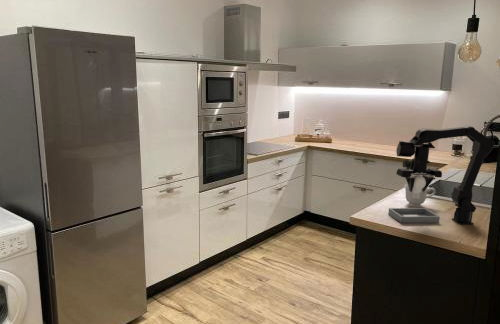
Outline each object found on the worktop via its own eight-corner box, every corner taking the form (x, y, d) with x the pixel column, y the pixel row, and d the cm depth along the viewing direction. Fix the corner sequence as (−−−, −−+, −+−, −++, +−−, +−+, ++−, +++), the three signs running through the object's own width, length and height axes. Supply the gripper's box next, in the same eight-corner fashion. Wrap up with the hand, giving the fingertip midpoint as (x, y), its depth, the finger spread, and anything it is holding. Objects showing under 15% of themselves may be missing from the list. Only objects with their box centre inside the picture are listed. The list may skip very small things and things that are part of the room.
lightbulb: (406, 198, 176) (409, 175, 174) (411, 196, 180) (414, 173, 178) (420, 202, 172) (423, 177, 169) (425, 199, 176) (429, 175, 174)
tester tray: (424, 214, 185) (425, 208, 185) (439, 223, 174) (439, 216, 173) (388, 214, 183) (388, 208, 182) (400, 223, 171) (401, 217, 171)
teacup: (436, 210, 191) (438, 190, 189) (404, 207, 194) (406, 188, 192) (430, 203, 203) (432, 184, 201) (400, 200, 206) (402, 182, 204)
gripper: (430, 154, 181) (426, 186, 184) (392, 153, 179) (388, 186, 182) (444, 159, 170) (440, 193, 174) (404, 158, 168) (400, 193, 171)
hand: (416, 191), depth 175 cm, fingers closed on lightbulb, 6 cm apart
